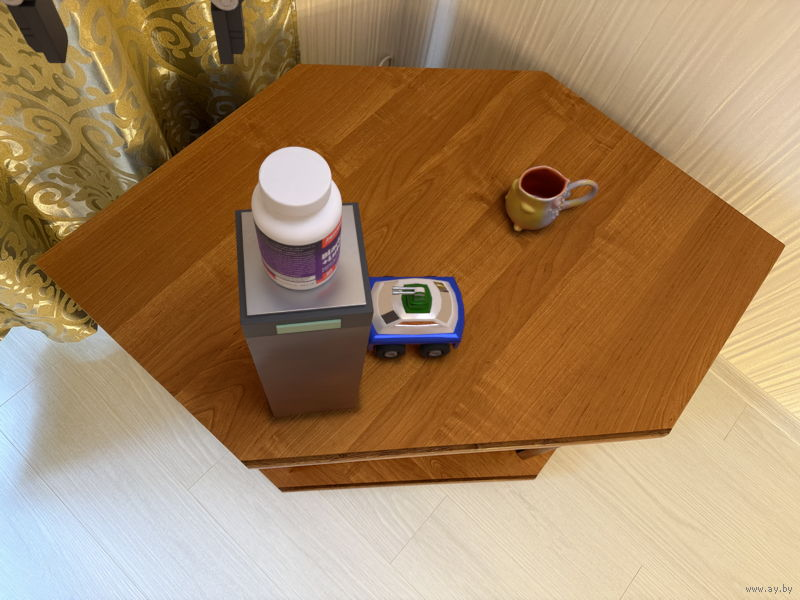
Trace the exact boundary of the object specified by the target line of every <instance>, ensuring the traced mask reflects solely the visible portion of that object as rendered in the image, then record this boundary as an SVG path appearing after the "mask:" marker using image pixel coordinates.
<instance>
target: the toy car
mask: <svg viewBox="0 0 800 600" xmlns="http://www.w3.org/2000/svg"><path fill="white" fill-rule="evenodd" d="M369 281H370V288H371V295H372V302H373V309H374V314H373V319H372V324H371V330H370V335H369V340H368V346H367V351H373V348H374V351H375V352H374V353H375V356H376V357H378V358H380V359H398V358H401V357H403V356H406V354H407V345H418V347H419V348H418V349H419V355H420V356H421V357H424V358H434V359H435V358H441V357H444V356H446V355H449V354H450V353H451V347H450V344H451V346H452V349H453V350H454V349H455V350H456V349H459V346H460V344H461V342H462V341H463V340H462V338H463V334H464V329H465V325H466V321H465V320H466V319H465V318H466V315H465V312H466V311H465V305H464V299H463V295H462V292H461V289H460V287H459V284H458V283H457V280H456V278H455V276H437V275H425V276H394V275H383V276H369Z"/></svg>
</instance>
